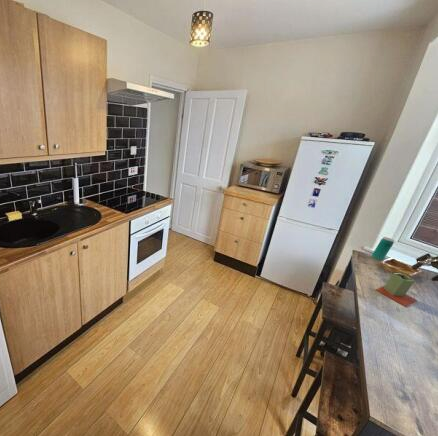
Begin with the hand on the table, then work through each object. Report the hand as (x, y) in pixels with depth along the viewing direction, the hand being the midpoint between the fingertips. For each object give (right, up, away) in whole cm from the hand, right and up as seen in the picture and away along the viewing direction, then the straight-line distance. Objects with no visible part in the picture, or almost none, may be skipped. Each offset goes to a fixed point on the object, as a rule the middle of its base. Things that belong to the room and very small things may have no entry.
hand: (422, 274), depth 113 cm
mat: (-9, -12, +4) cm, 15 cm away
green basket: (-9, -11, +6) cm, 15 cm away
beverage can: (+14, +1, +36) cm, 39 cm away
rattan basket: (+15, -4, +25) cm, 30 cm away
